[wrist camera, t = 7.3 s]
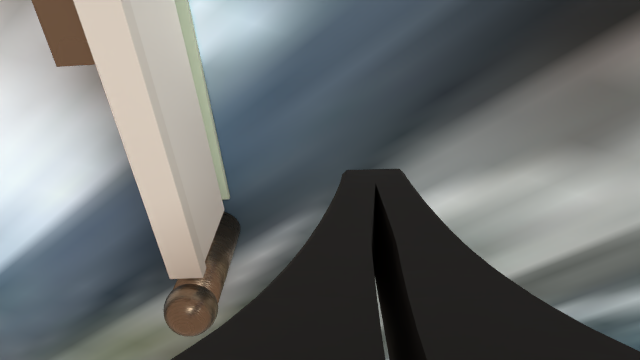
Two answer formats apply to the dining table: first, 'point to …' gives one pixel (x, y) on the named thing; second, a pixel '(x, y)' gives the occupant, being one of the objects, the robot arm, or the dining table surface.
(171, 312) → the hinge post
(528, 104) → the dining table surface
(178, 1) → the sill strip
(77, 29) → the post
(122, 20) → the beige flat panel
